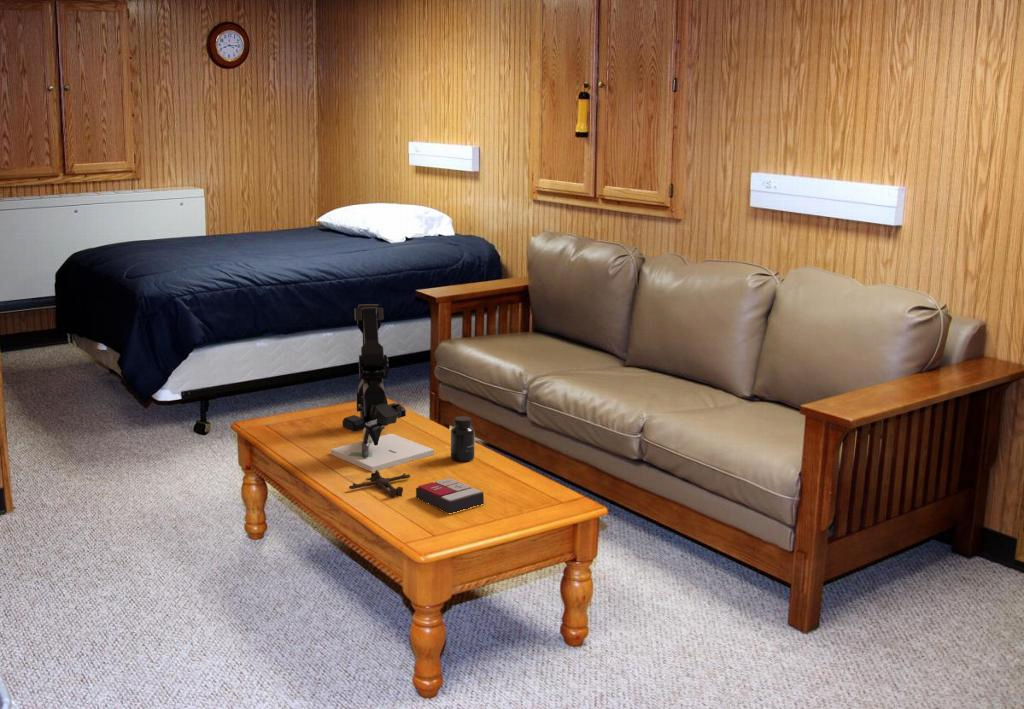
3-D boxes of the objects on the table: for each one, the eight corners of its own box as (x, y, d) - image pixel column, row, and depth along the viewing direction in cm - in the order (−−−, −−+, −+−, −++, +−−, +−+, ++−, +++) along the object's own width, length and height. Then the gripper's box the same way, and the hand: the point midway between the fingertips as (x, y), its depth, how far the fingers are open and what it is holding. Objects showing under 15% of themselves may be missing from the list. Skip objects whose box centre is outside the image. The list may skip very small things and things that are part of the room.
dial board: (330, 454, 312) (330, 448, 311) (391, 438, 326) (391, 433, 326) (372, 472, 298) (372, 466, 297) (434, 454, 312) (433, 449, 312)
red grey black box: (449, 476, 286) (484, 489, 275) (449, 491, 287) (484, 505, 276) (414, 485, 279) (449, 499, 268) (415, 501, 280) (449, 515, 269)
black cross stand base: (365, 494, 274) (341, 472, 286) (365, 509, 276) (341, 486, 287) (428, 481, 284) (402, 460, 295) (427, 496, 285) (401, 474, 297)
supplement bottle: (473, 462, 306) (474, 422, 303) (449, 462, 306) (449, 422, 303) (475, 454, 313) (475, 415, 310) (451, 454, 313) (451, 414, 310)
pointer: (363, 439, 319) (363, 426, 318) (374, 439, 320) (374, 426, 319) (359, 457, 303) (358, 444, 302) (370, 457, 304) (370, 444, 303)
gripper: (363, 408, 294) (366, 461, 299) (417, 392, 307) (418, 443, 311) (339, 398, 302) (342, 450, 306) (392, 383, 314) (394, 434, 319)
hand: (375, 445), depth 311 cm, fingers closed
